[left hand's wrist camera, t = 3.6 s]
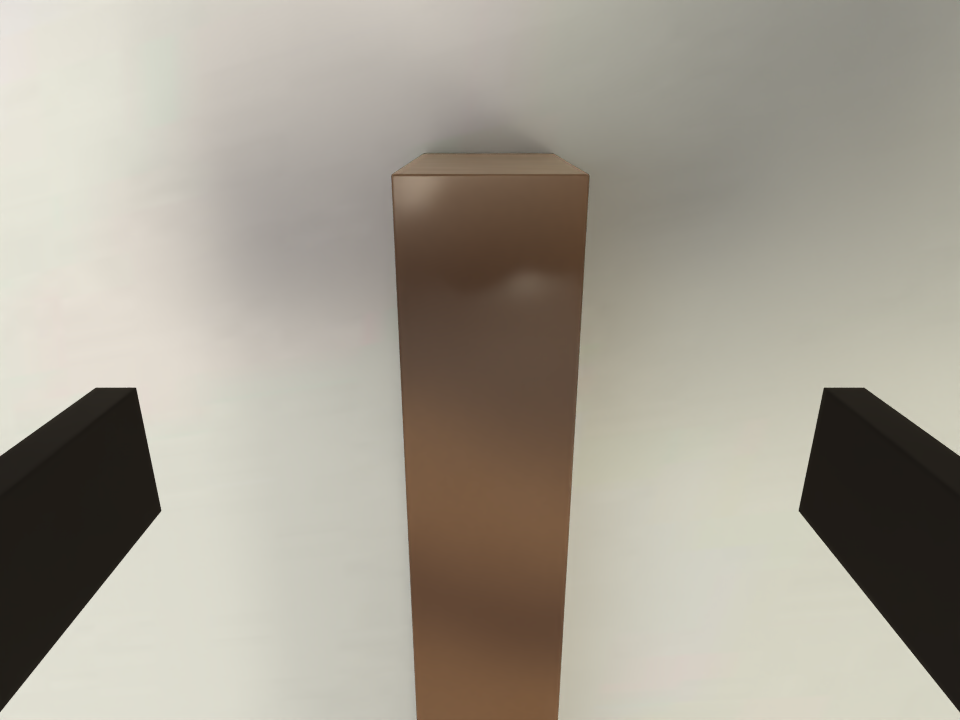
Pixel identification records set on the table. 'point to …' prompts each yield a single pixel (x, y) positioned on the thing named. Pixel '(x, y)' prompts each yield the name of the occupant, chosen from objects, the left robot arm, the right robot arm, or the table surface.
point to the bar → (488, 422)
